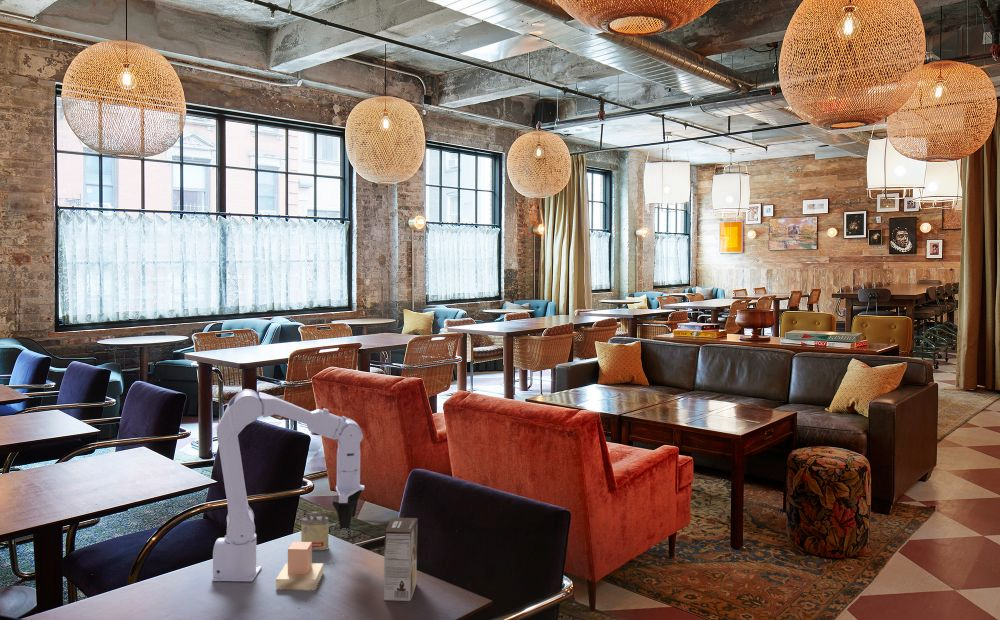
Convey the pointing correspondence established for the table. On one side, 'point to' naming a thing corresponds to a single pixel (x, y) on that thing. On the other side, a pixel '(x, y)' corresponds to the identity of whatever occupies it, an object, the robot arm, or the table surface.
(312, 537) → the yellow package
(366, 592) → the table surface
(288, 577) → the birch block
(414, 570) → the coffee box
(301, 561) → the terracotta block
